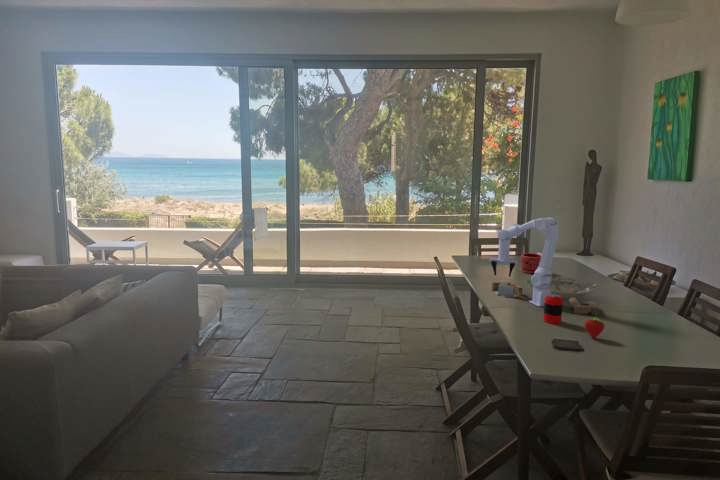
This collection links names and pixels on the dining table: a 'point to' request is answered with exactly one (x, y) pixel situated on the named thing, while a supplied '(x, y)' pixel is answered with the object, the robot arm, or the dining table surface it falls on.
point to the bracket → (505, 290)
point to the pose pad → (507, 296)
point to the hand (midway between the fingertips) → (502, 275)
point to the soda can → (553, 309)
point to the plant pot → (530, 262)
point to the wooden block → (584, 307)
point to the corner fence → (517, 288)
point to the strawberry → (594, 327)
